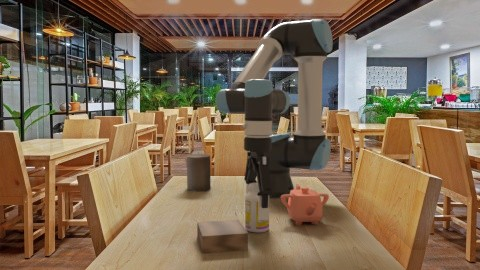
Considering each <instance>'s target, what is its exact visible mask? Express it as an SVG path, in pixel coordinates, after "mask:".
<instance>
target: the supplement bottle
mask: <svg viewBox="0 0 480 270" xmlns="http://www.w3.org/2000/svg"><path fill="white" fill-rule="evenodd" d="M249 190H250V192H249V193H247V194H246V193H245V197H244V200H245V201H244V202H245V203H244V205H245V211H244V213H245V215H244V216H245V217H244V223H245V224H244V225H245V226H244V228H245V230H246V231H247V232H249V233H256V234H257V233H259V234H260V233H265V232H268V230H270V229H269V228H270V219H269V220H258V196H257V194H258V192H259V186H258V183H250V184H249Z"/></svg>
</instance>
